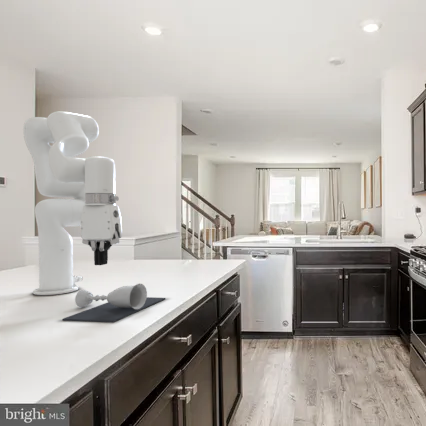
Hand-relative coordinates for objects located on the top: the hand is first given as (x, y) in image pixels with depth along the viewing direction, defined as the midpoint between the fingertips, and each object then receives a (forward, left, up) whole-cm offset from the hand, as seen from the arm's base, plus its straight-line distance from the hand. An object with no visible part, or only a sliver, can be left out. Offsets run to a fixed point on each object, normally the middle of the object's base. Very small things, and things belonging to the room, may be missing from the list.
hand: (101, 264), depth 106 cm
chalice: (+1, -5, -10) cm, 11 cm away
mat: (+1, +6, -12) cm, 14 cm away
